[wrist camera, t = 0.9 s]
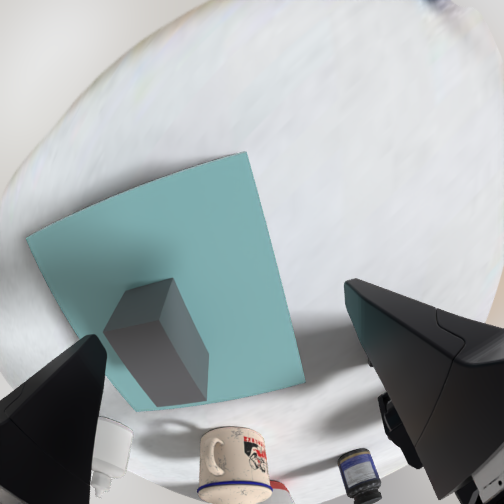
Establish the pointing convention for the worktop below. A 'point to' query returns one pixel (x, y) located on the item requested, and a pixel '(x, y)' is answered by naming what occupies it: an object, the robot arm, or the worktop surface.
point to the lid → (177, 288)
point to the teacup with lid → (233, 467)
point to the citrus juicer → (278, 495)
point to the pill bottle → (360, 476)
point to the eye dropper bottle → (110, 453)
